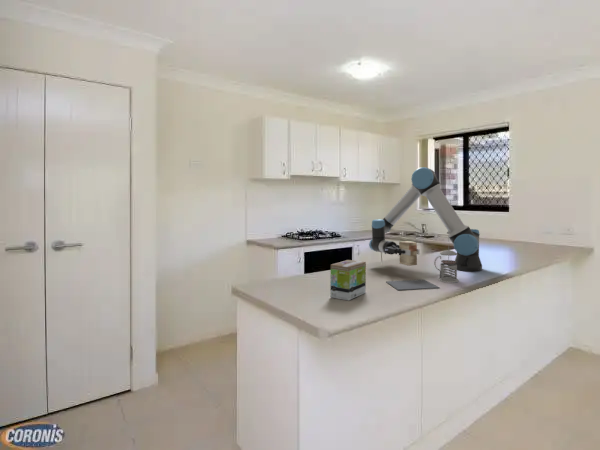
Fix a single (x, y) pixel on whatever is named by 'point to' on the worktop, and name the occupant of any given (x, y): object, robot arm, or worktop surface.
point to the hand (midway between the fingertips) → (414, 252)
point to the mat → (412, 284)
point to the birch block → (406, 258)
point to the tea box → (348, 279)
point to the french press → (450, 265)
